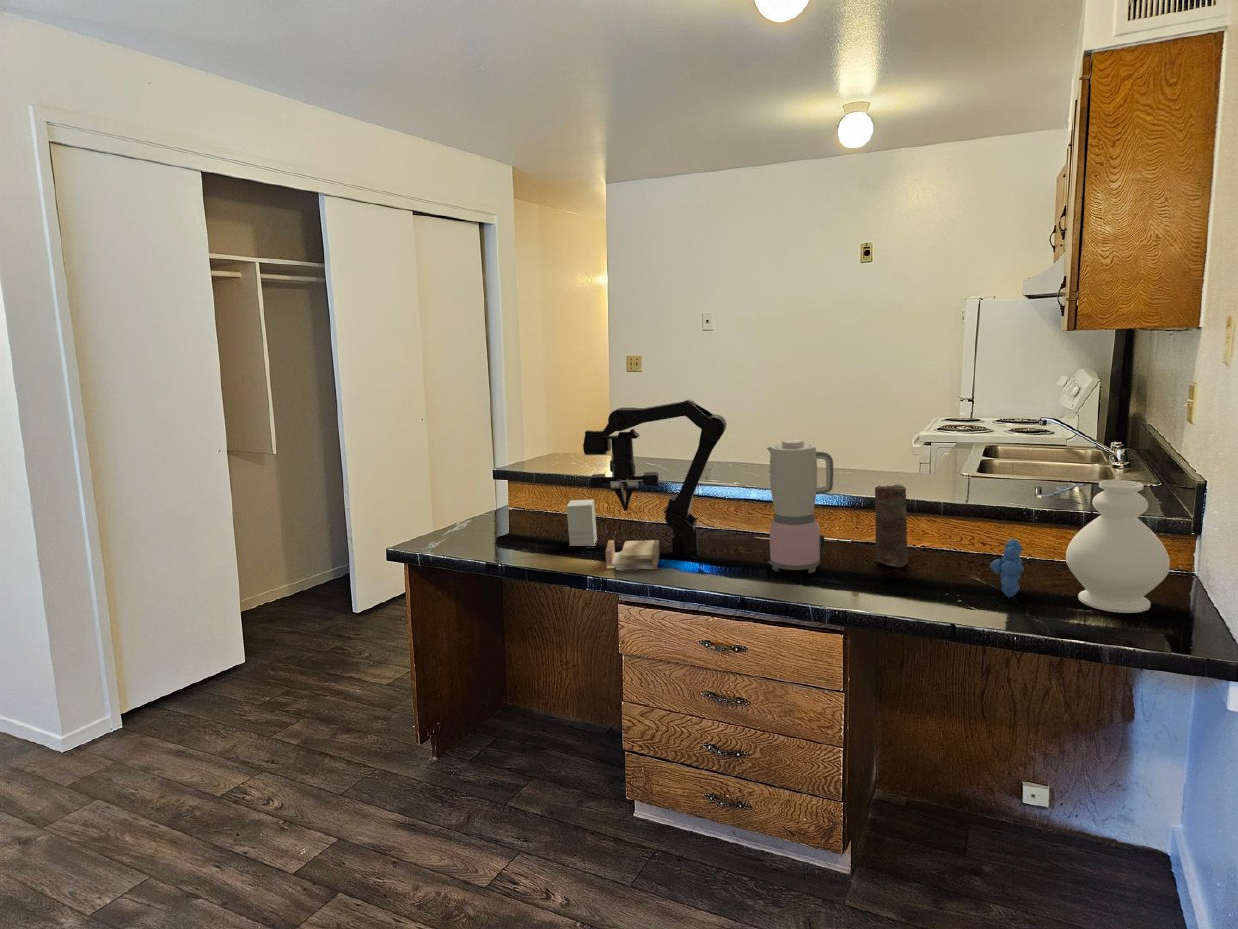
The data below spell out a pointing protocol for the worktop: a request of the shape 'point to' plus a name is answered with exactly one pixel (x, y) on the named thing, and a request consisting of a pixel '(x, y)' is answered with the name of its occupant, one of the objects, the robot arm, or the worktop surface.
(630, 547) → the beige open box
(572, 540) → the supplement box
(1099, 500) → the decorative vase
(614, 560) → the beige blocky piece
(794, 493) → the blender
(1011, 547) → the grapes
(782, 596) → the worktop surface
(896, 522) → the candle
